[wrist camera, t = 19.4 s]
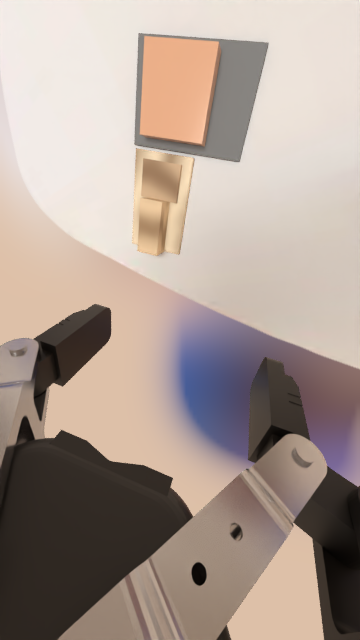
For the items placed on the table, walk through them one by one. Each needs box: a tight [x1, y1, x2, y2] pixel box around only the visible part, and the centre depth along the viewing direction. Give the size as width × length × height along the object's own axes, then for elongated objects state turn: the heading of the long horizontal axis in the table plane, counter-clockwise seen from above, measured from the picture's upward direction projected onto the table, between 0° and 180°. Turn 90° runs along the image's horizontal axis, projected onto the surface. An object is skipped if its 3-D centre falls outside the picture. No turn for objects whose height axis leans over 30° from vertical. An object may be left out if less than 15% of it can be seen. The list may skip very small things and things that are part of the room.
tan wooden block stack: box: [137, 158, 182, 256], centre depth 35 cm, size 13×6×4 cm, turn 171°
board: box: [132, 148, 194, 254], centre depth 36 cm, size 9×14×1 cm, turn 171°
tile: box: [140, 36, 221, 147], centre depth 28 cm, size 2×9×9 cm
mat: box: [134, 33, 268, 162], centre depth 29 cm, size 16×11×1 cm
